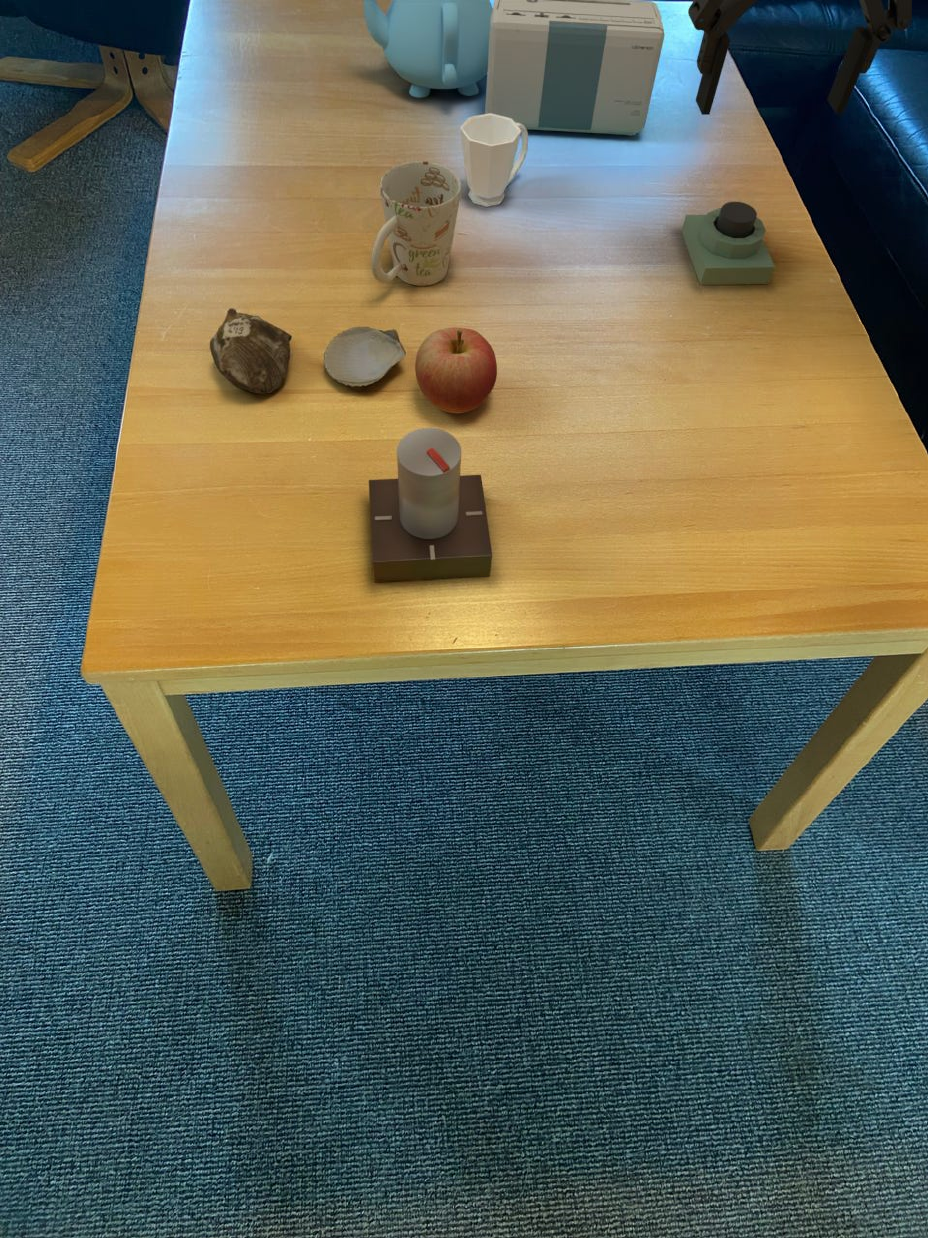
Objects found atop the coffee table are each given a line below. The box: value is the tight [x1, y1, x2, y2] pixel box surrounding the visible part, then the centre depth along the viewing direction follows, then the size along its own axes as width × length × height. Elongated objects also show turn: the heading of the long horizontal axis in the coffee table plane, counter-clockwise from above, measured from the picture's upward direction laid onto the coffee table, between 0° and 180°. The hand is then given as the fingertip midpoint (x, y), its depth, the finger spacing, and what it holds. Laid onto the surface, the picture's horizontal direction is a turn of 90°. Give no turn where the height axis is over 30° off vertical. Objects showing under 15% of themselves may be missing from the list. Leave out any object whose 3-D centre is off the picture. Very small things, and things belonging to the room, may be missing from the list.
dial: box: [396, 427, 462, 539], centre depth 68 cm, size 5×5×8 cm
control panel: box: [368, 474, 493, 583], centre depth 72 cm, size 10×9×3 cm
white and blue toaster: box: [484, 0, 665, 137], centre depth 103 cm, size 21×8×20 cm, turn 88°
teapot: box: [362, 0, 493, 99], centre depth 110 cm, size 16×20×14 cm
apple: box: [414, 326, 498, 414], centre depth 80 cm, size 8×8×8 cm
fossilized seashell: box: [209, 308, 293, 394], centre depth 82 cm, size 8×7×10 cm
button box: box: [680, 207, 776, 286], centre depth 95 cm, size 10×8×4 cm
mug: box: [370, 160, 462, 287], centre depth 88 cm, size 8×13×10 cm, turn 148°
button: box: [716, 201, 758, 238], centre depth 93 cm, size 4×4×2 cm
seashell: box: [323, 326, 407, 388], centre depth 84 cm, size 8×3×8 cm
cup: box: [459, 113, 529, 208], centre depth 99 cm, size 7×10×8 cm
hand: (769, 107), depth 82 cm, fingers open, 13 cm apart
